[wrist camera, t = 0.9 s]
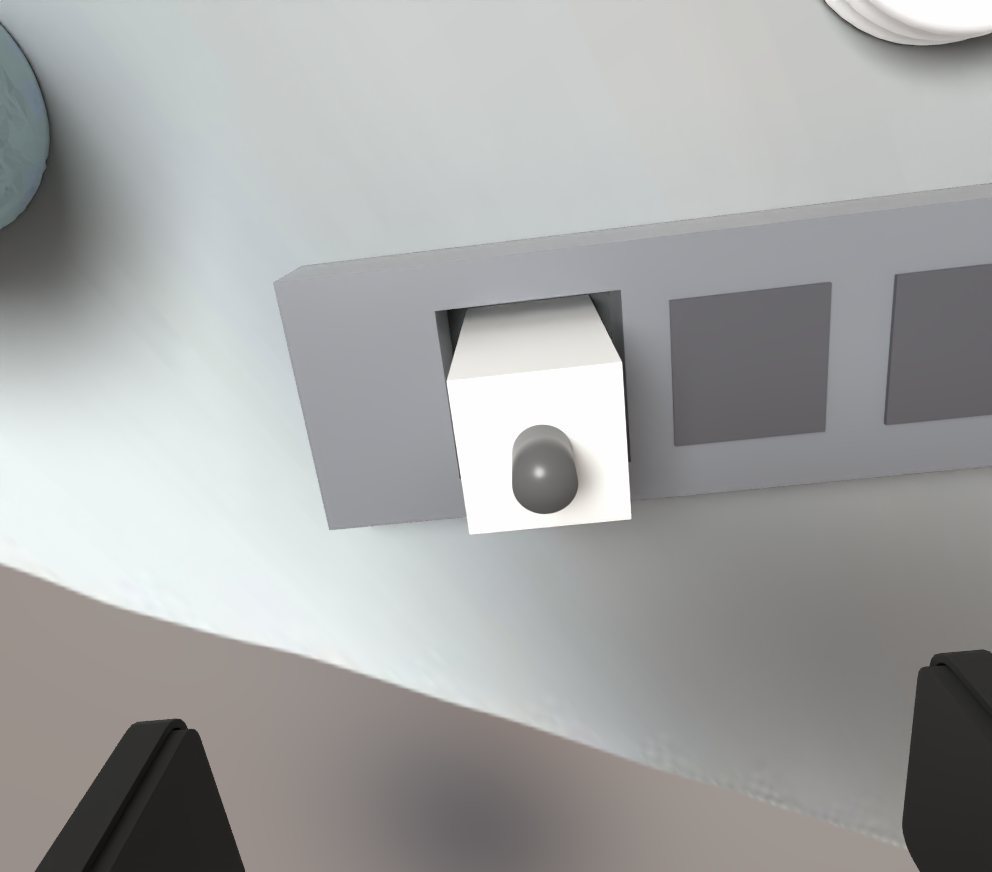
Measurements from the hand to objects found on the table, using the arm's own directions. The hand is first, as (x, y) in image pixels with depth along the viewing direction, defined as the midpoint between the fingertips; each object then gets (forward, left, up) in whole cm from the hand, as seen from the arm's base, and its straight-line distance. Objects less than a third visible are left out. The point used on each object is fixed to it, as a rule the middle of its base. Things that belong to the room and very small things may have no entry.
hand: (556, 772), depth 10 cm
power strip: (-6, 0, -20) cm, 21 cm away
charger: (0, 0, -20) cm, 20 cm away
